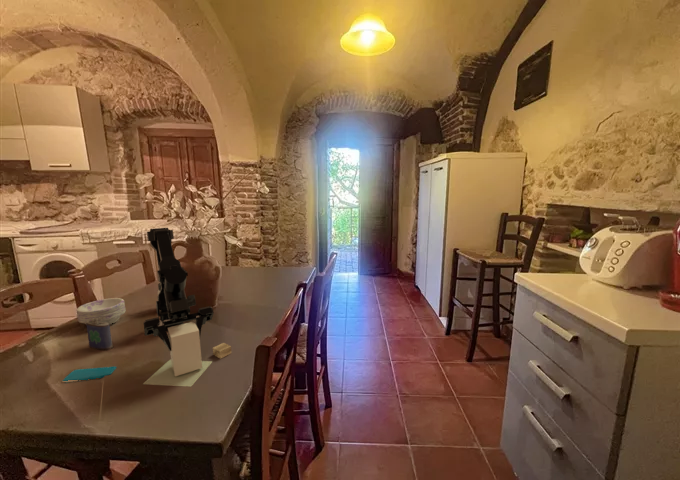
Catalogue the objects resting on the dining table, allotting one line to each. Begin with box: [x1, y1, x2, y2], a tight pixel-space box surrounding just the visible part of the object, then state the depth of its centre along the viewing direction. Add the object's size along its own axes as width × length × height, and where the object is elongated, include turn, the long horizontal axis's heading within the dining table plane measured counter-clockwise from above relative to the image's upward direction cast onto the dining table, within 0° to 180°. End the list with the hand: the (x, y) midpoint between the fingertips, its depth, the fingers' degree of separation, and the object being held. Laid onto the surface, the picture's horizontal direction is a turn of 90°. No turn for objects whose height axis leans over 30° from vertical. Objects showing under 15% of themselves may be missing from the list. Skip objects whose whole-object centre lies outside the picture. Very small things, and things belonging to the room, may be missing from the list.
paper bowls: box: [75, 297, 126, 325], centre depth 122 cm, size 15×15×8 cm
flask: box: [85, 318, 114, 351], centre depth 102 cm, size 9×3×11 cm, turn 74°
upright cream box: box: [167, 321, 203, 376], centre depth 90 cm, size 7×7×12 cm
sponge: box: [62, 365, 117, 381], centre depth 88 cm, size 2×12×6 cm
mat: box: [142, 359, 213, 388], centre depth 89 cm, size 14×12×1 cm
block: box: [212, 342, 232, 360], centre depth 98 cm, size 4×4×3 cm
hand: (185, 346), depth 89 cm, fingers closed on upright cream box, 7 cm apart
